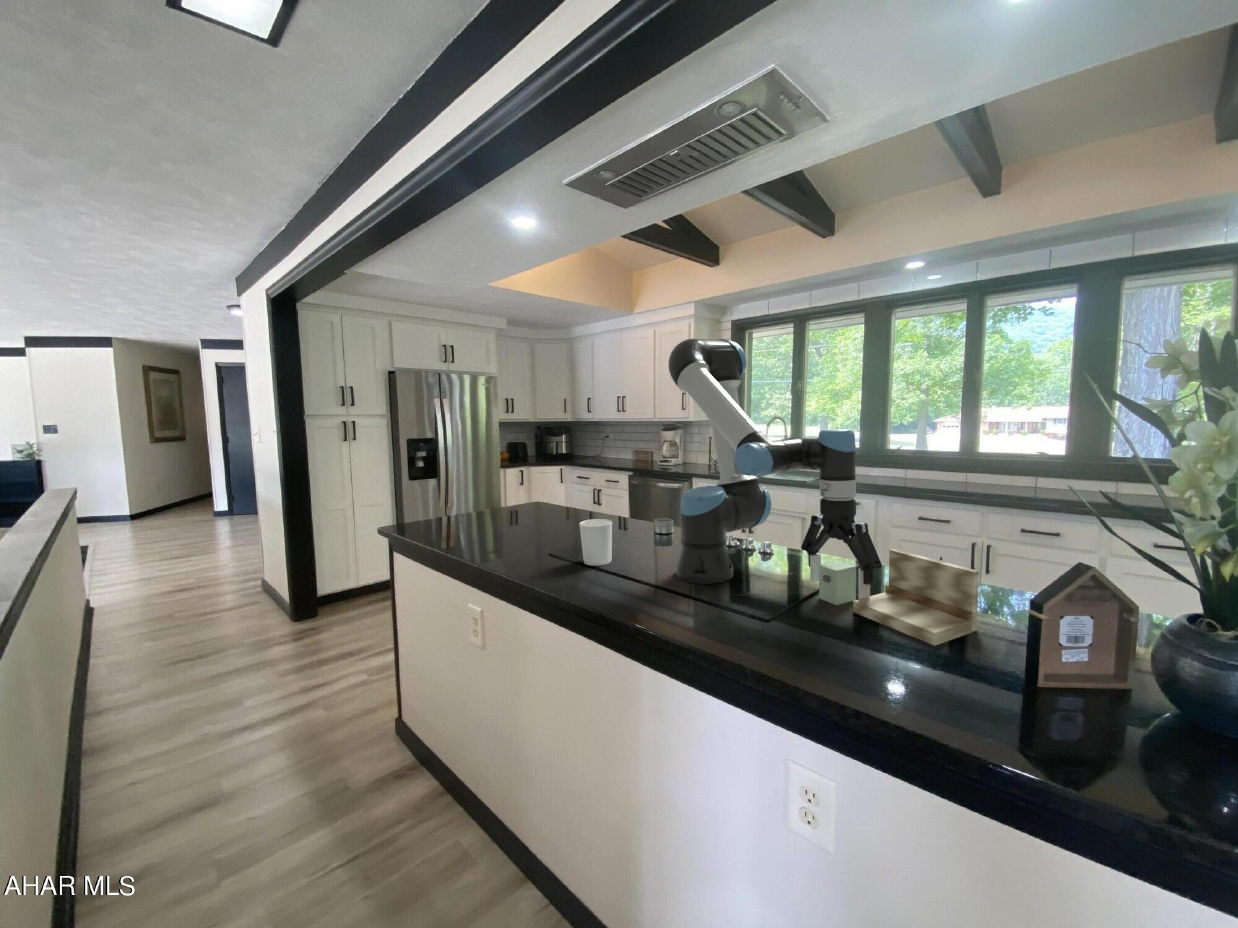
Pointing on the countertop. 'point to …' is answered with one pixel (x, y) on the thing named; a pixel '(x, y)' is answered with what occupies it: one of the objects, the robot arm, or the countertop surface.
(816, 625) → the countertop surface
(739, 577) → the countertop surface
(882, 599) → the cleat board
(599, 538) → the candle holder
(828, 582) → the cabinet block
